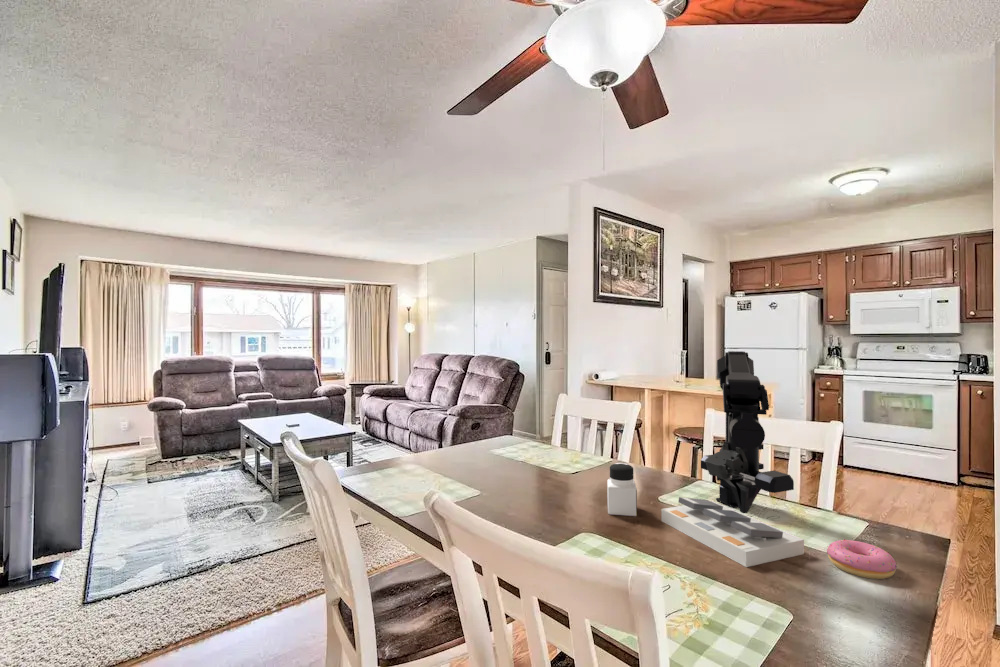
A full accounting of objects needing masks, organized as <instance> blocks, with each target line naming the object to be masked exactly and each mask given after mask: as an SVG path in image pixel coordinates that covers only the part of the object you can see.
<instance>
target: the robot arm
mask: <svg viewBox="0 0 1000 667" xmlns="http://www.w3.org/2000/svg"><path fill="white" fill-rule="evenodd" d="M754 366H755V365H754V360H753V359H752V358H750V357H749V353H748V352H746V351H738V350H737V351H735V350H734V351H733V350H732V351H727V352H725V353H724V356H722V357H720V358H718V359H717V360H716V379H718V380H719V387H720V389H721V391H722V400H723V401H722V402H723V413H725V441H723V444H722V446H721V448H720V449H719V451H717V452H716V453H713V454H708V455H707V454H706V455H703V457H702V458H701V459H700V469H702V470H704V471H707V472H708V475H710V476H714V477H716V481H720V482H719V487H718V488H719V489H718V490H719V497H716V498H715V500H716V501H718V502H720V503H722V504H725V505H727V506H730V507H731V508H739V513H742V514H748V512H749V511H750V508H751V507H752V505H753V503H754V501H755V499H756V498H757V496H758V495H759V493H760V491H761V490H762V491H765V492H767V493H772V494H774V493H781V492H788V491H794V490H795V488H794V486H795V485H794V483H795V481H794V479H793V477H792V476H791V475H790V474H788V473H784V472H781V471H777V470H769V471H760V470H765V469H764V468H765V465H764V463H761V462H760V450H764V444H763V443H764V441H765V438H766V432H765V430H764V428H763V426H762V425H761V423H760V420H759V415H763V416H764V415H765V416H766V415H768V414H767V411H769V410H770V404H769V396H768V390H767V389H766V387H765V385H764V384H761V381H760V379H759V377H758V376H757V375H755V368H754Z"/></svg>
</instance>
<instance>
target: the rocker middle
mask: <svg viewBox="0 0 1000 667" xmlns="http://www.w3.org/2000/svg"><path fill="white" fill-rule="evenodd" d="M735 511H736V510H735ZM735 511H729V510H717V509H705V508H703V514H705V515H707V516H709V517H711V518H713V519H715V520H718V521H720V522H732V521H738V522H750V521H751V518H752V517H751V518H749V517H750V516H749V517H746V516H744V515H745V514H744V515H742V514H743V513H742V514H739V513H740V512H739V513H737V512H738V511H737V512H735Z"/></svg>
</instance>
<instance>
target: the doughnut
mask: <svg viewBox="0 0 1000 667" xmlns="http://www.w3.org/2000/svg"><path fill="white" fill-rule="evenodd" d="M826 554H827V557H828V559H829V561H830V562H831V563H832V564H833V565H834V566H835V567H837V568H838V569H839V570H842V571H844V572H846V573H848V574H851V575H854V576H857V577H859V578H860V577H861V578H865V579H872V580H883V579H889V578H891V577H893V576H894V574H896V570H897V568H898V566H897V564H898V562H897V561H896V560H895V558H894V557H893V556H892V555H891V554H890V551H889V552H888V551H886V550H885V549H883V548H881V547H879V546H876V545H873V544H871V543H867V542H863V541H860V540H859V541H858V540H852V539H846V538H844V539H837V540H835V541H833V542H831V543H829V545H828V546H827V548H826Z"/></svg>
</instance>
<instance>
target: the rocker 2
mask: <svg viewBox="0 0 1000 667" xmlns="http://www.w3.org/2000/svg"><path fill="white" fill-rule="evenodd" d="M763 523H764V522H763ZM763 523H752V522H738V521H732V522H731V527H733V528H735V529H737V530H739V531H741V532H743V533H746V534H748V535H750V536H761V537H778V538H782V536H783V532H782V531H783V530H782V531H779V530H777V529H778V528H777V529H775V528H776V527H775V528H772V527H770V526H771V525H770V526H768V525H769V524H768V525H765V524H766V523H765V524H763Z"/></svg>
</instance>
